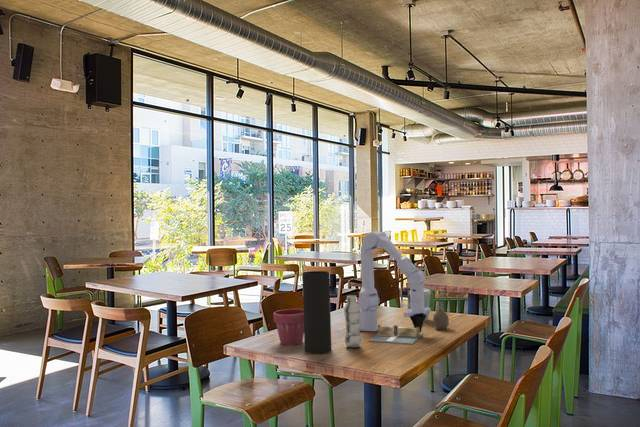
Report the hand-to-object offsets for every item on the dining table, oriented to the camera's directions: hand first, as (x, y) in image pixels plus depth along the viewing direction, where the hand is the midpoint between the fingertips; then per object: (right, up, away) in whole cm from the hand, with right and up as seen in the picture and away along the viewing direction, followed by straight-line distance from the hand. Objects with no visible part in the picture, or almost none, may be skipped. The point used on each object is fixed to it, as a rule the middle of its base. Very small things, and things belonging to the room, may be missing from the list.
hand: (418, 331), depth 227 cm
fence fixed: (-13, -2, 0) cm, 13 cm away
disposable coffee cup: (+7, -1, +32) cm, 33 cm away
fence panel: (-4, -1, -4) cm, 6 cm away
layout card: (-9, -2, -4) cm, 10 cm away
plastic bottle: (-28, -2, -17) cm, 33 cm away
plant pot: (-53, -3, -6) cm, 54 cm away
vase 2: (+12, -1, +11) cm, 16 cm away
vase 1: (-42, -3, -21) cm, 47 cm away
